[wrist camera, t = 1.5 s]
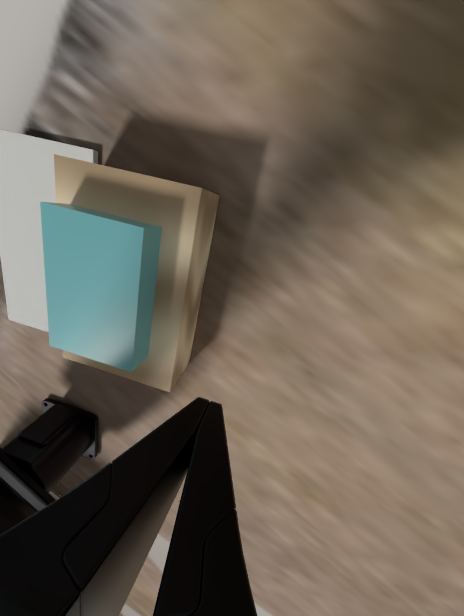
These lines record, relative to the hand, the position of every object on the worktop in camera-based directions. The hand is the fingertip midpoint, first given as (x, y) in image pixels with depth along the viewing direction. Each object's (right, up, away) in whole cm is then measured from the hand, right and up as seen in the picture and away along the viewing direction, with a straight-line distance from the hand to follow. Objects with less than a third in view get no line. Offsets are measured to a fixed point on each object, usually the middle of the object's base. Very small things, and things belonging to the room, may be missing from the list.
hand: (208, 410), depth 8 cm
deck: (-6, +6, +12) cm, 14 cm away
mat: (-15, +9, +13) cm, 21 cm away
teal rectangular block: (-7, +5, +8) cm, 12 cm away
